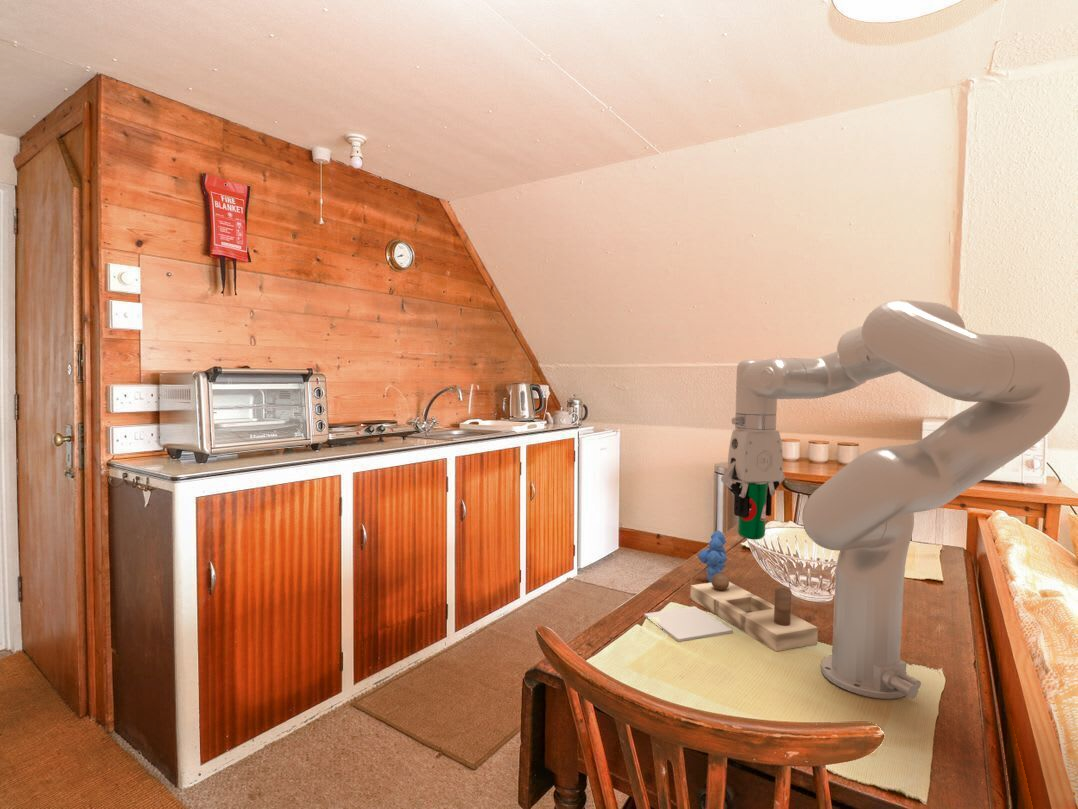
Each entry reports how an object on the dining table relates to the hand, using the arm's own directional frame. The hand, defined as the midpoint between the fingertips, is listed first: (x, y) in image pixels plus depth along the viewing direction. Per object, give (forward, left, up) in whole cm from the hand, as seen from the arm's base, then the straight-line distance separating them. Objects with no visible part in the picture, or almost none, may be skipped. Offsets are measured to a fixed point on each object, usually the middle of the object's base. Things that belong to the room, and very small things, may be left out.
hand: (752, 514), depth 117 cm
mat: (+2, +13, -21) cm, 25 cm away
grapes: (+20, -6, -21) cm, 30 cm away
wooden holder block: (0, 0, -21) cm, 21 cm away
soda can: (0, 0, -5) cm, 5 cm away
